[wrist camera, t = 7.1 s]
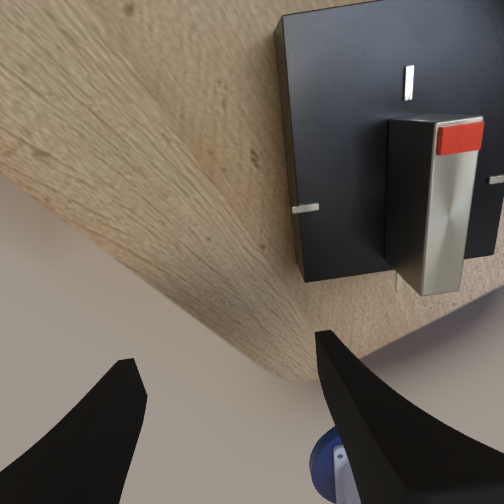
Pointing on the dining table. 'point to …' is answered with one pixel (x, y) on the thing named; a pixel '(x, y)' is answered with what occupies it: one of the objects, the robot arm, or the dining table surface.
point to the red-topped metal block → (430, 197)
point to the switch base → (382, 117)
